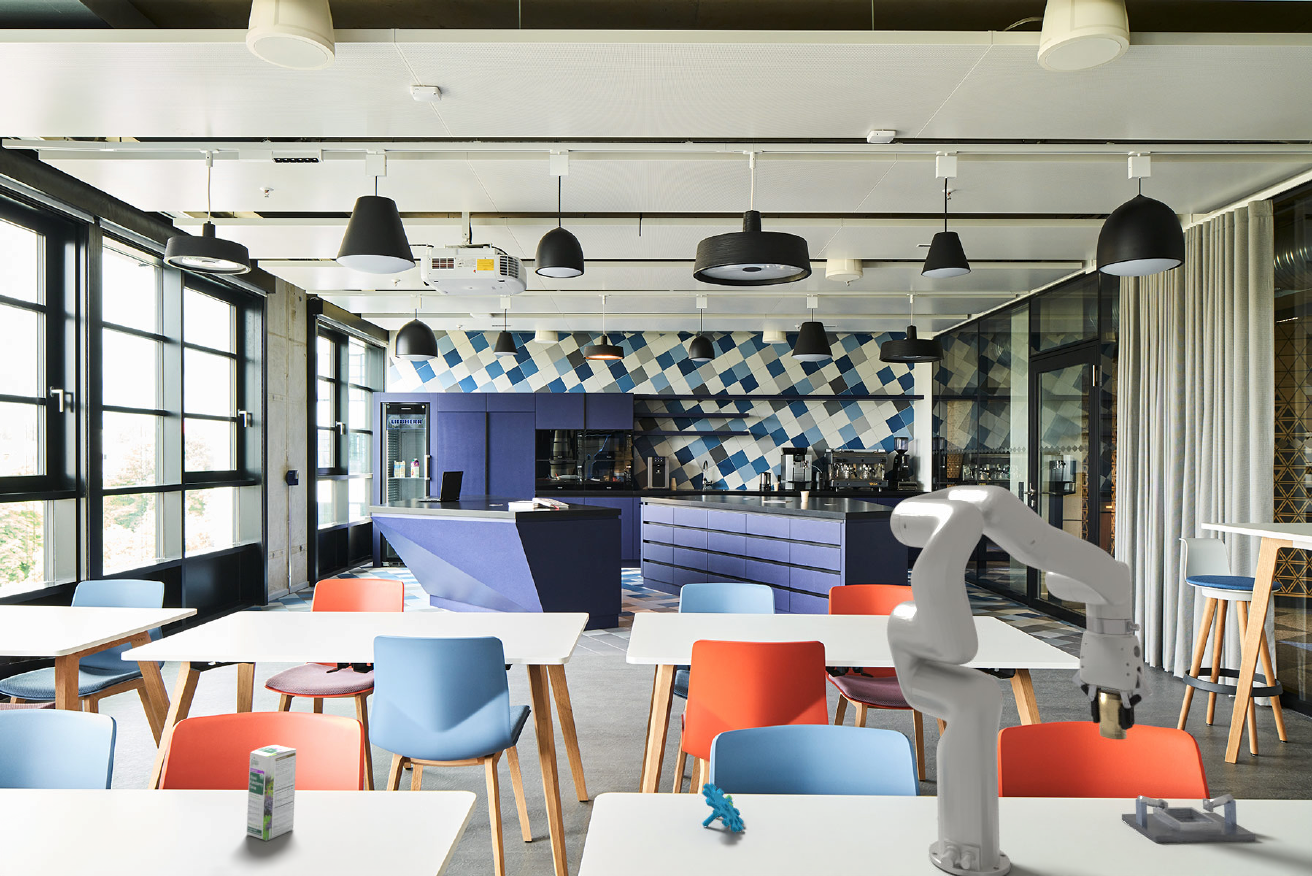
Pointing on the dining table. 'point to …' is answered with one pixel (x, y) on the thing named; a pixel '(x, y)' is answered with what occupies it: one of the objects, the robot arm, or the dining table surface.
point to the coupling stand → (1187, 822)
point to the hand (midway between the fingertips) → (1112, 724)
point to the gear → (722, 808)
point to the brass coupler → (1110, 714)
